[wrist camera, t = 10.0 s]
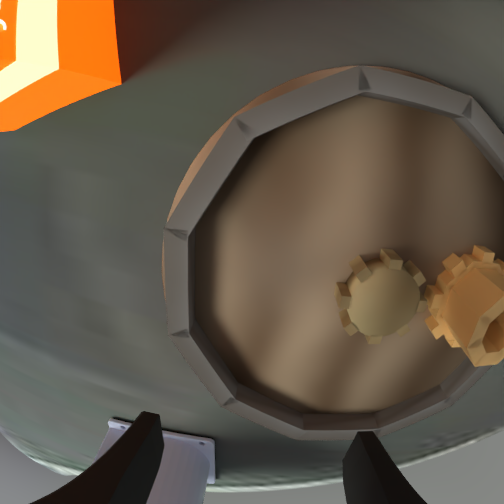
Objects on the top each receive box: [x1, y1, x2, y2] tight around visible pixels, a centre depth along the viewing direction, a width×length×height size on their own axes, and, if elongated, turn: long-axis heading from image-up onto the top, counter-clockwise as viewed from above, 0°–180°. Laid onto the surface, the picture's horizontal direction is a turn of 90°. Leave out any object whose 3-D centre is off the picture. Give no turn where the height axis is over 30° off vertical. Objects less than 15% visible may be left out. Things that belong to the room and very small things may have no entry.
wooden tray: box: [162, 65, 504, 440], centre depth 17 cm, size 24×24×3 cm
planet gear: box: [424, 245, 504, 367], centre depth 15 cm, size 6×6×4 cm
